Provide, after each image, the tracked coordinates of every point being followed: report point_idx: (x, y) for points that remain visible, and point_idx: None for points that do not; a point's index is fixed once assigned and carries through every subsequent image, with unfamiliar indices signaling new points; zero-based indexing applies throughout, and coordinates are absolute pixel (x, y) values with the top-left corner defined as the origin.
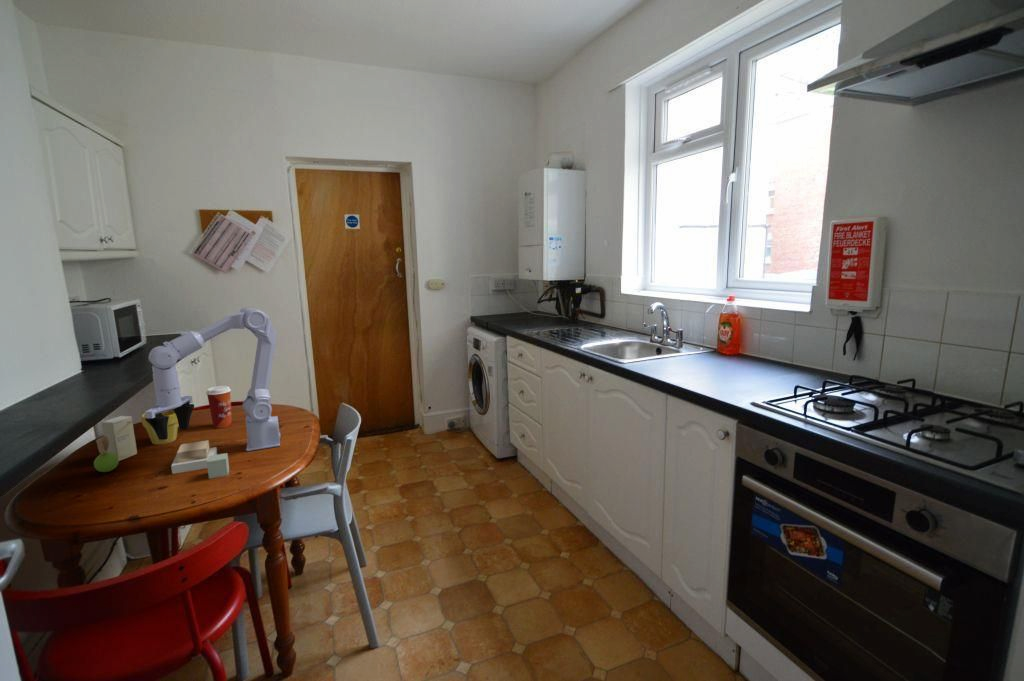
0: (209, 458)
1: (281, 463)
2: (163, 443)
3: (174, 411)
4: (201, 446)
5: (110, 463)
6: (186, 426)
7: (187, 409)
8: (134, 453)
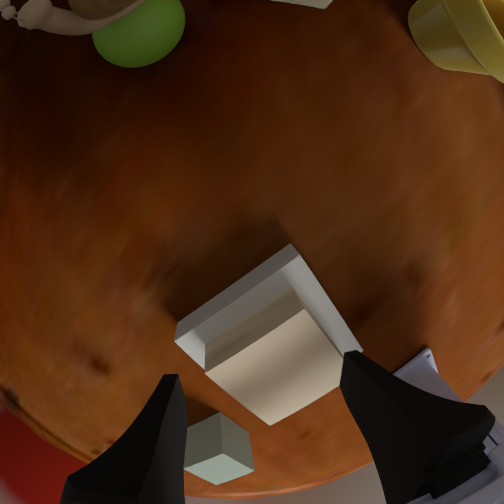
0: (206, 463)
1: (292, 478)
2: (419, 47)
3: (419, 422)
4: (286, 402)
5: (118, 63)
6: (346, 402)
7: (390, 499)
8: (314, 4)
